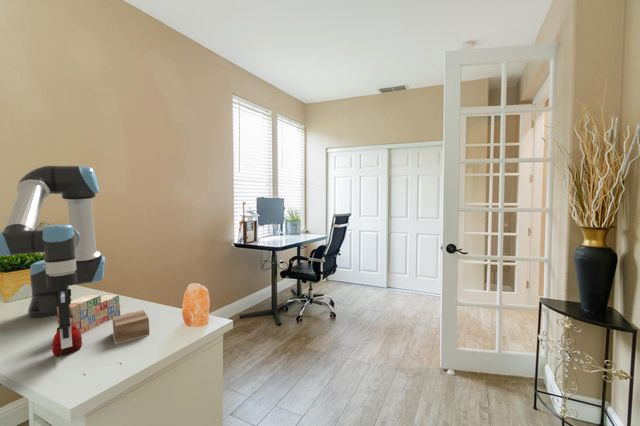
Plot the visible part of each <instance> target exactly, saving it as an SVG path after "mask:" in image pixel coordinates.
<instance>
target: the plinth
mask: <svg viewBox="0 0 640 426" xmlns="http://www.w3.org/2000/svg"><path fill="white" fill-rule="evenodd" d="M112 319H113V320H112V329H113V331H112V333H114V336H115V340H116V343H117V344H120V343H119V342H121V343H124V342H123V341H125V342H127V341H126V340H129V341H131V340H130V339H132V340H135V339H134V338H136V339H139V338H138V337H140V338H142V337H141V336H143V337H146V336H145V335H147V336H150V335H149V334H150V333H151V332H150V319H149V316H148V314H147V313H146V312H145V310H144V309H143V310H138V311H134V312H130V313H129V312H128V313H124V314H120V315H119V316H115V317H112ZM149 332H150V333H149Z"/></svg>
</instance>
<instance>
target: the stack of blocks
mask: <svg viewBox="0 0 640 426" xmlns="http://www.w3.org/2000/svg"><path fill="white" fill-rule="evenodd" d="M69 306H70V312H71V313H73V317H71V326H73V325H75V326H76V328H77V330H78V331H79V332H80V334H81V335H82V334H84V333H86V332H87V331H90V330H92V329H94V328H96V327H98V326H100V325H102V324H103V323H106V322H108V321H113V319H112V317H115V316H119V315H121V303H120V297H119V295H118V294H104V295H102V296H101V295H98V294H97V295H96V294H91V295H90V294H86V295H83V296H81V297H78V298H75V299H73V300H72V301H71V304H70V305H69ZM71 313H70V314H71ZM56 316H57V324H58V327H59V326H60V323H59V310H58V307H57V314H56ZM58 327H57V328H58Z"/></svg>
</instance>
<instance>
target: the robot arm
mask: <svg viewBox="0 0 640 426" xmlns="http://www.w3.org/2000/svg"><path fill="white" fill-rule="evenodd" d="M16 190H17V196H16V199H15V201H14V203H13V206H12V208H11V211H10V214H9V215H8V218H7V221H6V223H5V226H4V229H3V231H0V257H1V256H14V255H15V256H16V255H25V254H26V255H29V254H37V253H44V259H43V260H38V261H36V262H33V263H32V264H31V265H30V268H29V270H30V272H29V276H30V285H31V286H30V287H31V296H32V297H31V300H30V303H29V306H28V309H27V314H28V316H27V317H28V318H36V319H37V318H45V317H50V316H51V317H52V316H57V315H58V314H57V307H58V310H59V323H60V326H59V327H56V331H57V330H59V329H60V339H61V349H64V348H68V347H72V334H71V317H73V316H70V315H69V314H70V313H71V312H70V306H69V305H70V304H71V301H73V300H72V297H71V296H72V289H71V288H69V286H74V285H82V284H84V285H85V284H92V283H95V282H96V283H97V282H101V281H102V280H103V279H104V275H105V265H106V256H103V255H102V254H101V251H99V250H97V241H96V239H97V238H96V231H95V220H94V210H93V200H94V199H95V198H96V196H97V195H96V194H98V193H100V187H99V182H98V177H97V175H96V172H95V169H93V167H90V166H83V165H47V166H46V165H45V166H40V167H38V168H35V169H32V170H31V171H29V172H28V173H26V174H25V175H24V176H22V177H21V179H20V180H19V182H18V184H17V186H16ZM51 194H53V195H55V194H56V195H59V194H61V198H62V199H63V200H64V201H65V202H66V203H67V204H66V205H67V211H68V218H69V219H68V221H69V224H68V223H67V224H63V223H62V224H50V225H46V226H43V228H42V229H37V230H36V228H37V224H38V220H39V218H40V214H41V212H42V208H43V204H44V201H45V199H46V198H48V197H49V195H51ZM72 315H73V314H72Z"/></svg>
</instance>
